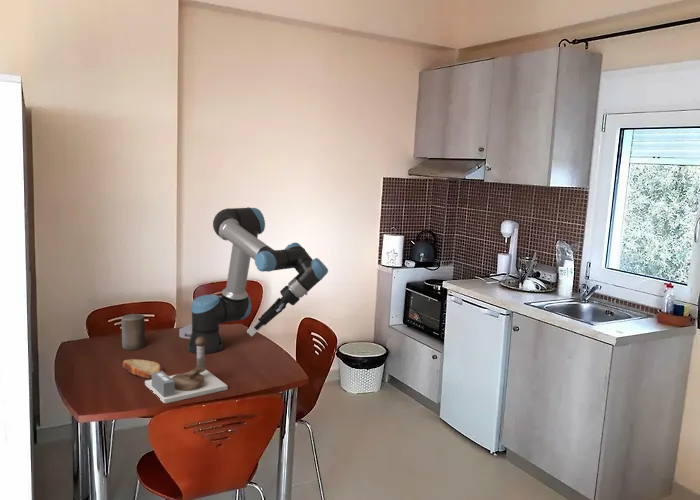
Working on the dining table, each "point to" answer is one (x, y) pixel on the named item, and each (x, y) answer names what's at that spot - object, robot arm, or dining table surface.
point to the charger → (185, 331)
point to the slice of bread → (142, 367)
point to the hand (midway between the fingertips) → (249, 333)
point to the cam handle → (193, 377)
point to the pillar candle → (133, 331)
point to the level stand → (168, 393)
